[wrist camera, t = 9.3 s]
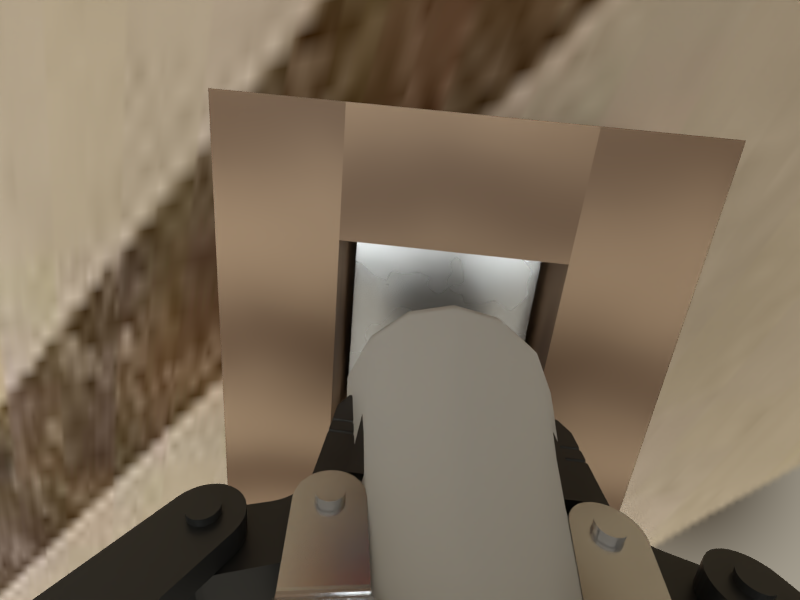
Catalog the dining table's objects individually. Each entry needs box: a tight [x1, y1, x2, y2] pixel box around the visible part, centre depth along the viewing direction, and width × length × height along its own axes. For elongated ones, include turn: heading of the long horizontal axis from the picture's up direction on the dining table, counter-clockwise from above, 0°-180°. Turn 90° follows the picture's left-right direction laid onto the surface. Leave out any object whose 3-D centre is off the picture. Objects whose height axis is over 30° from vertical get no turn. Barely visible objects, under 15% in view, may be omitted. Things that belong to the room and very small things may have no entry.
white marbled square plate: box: [349, 242, 541, 374], centre depth 17 cm, size 7×7×1 cm
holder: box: [208, 88, 746, 511], centre depth 19 cm, size 16×16×8 cm
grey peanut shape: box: [347, 305, 582, 600], centre depth 8 cm, size 6×6×13 cm
